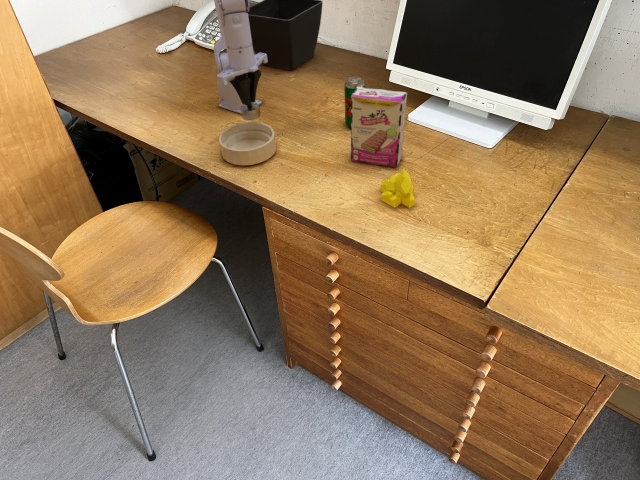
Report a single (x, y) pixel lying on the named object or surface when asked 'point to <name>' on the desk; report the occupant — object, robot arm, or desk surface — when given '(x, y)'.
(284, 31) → the flower pot
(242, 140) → the bowl
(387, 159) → the candy bar box
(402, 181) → the yellow faceted lump
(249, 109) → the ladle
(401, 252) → the desk surface
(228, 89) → the robot arm
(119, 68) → the desk surface
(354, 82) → the soda can
